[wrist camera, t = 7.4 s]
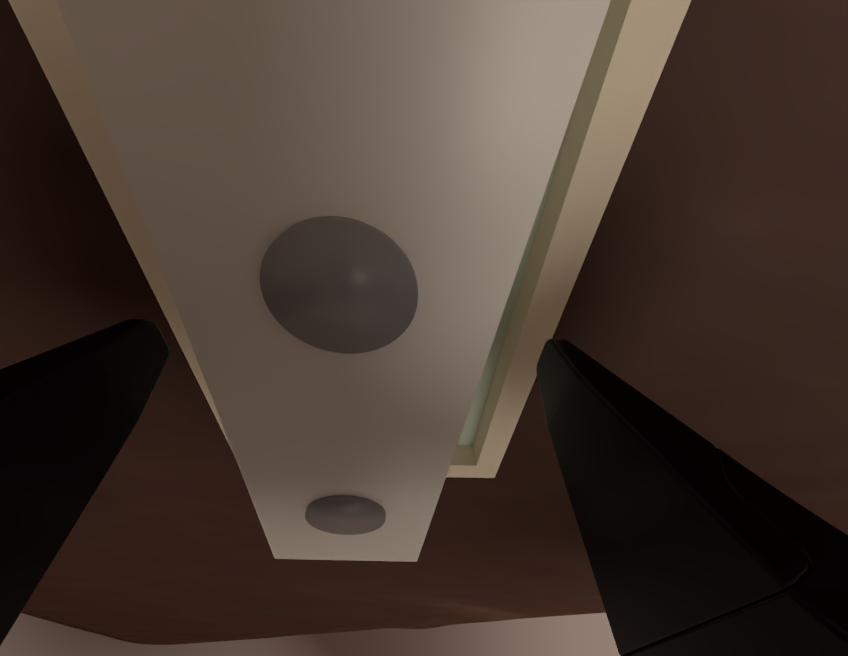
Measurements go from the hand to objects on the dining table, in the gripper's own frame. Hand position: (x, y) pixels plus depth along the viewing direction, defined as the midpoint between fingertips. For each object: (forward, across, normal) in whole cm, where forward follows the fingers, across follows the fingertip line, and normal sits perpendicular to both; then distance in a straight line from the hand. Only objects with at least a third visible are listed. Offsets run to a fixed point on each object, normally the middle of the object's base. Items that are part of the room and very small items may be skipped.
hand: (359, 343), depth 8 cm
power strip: (+2, 0, 0) cm, 2 cm away
